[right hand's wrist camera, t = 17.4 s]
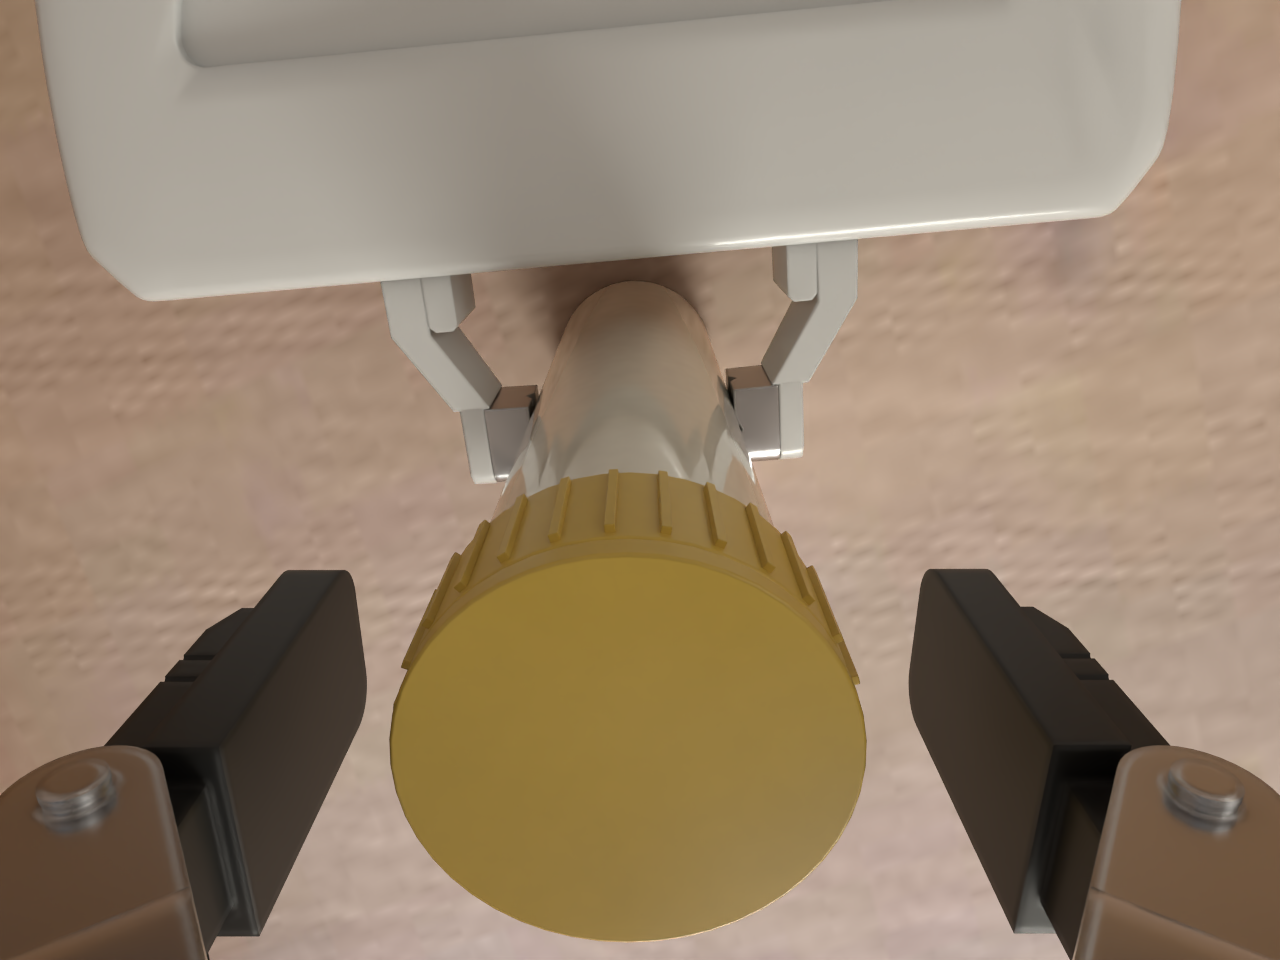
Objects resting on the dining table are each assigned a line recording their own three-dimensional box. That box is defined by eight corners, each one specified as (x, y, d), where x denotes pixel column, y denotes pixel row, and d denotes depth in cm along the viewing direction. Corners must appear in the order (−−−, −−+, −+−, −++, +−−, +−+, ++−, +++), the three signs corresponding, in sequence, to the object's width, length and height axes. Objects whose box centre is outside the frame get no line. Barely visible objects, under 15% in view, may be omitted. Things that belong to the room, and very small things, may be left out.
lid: (890, 524, 10) (951, 617, 8) (758, 845, 12) (782, 985, 10) (472, 417, 10) (429, 489, 8) (397, 767, 12) (348, 899, 10)
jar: (719, 415, 26) (847, 856, 10) (576, 438, 26) (478, 904, 10) (698, 268, 25) (809, 514, 9) (546, 294, 25) (378, 582, 9)
